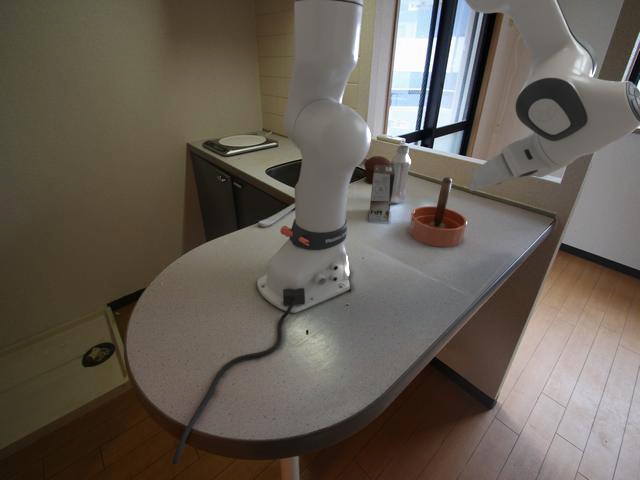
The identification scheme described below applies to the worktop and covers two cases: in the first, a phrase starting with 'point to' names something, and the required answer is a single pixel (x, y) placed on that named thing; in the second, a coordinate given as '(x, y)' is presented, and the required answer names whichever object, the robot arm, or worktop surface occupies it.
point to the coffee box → (381, 192)
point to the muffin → (371, 164)
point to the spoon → (275, 216)
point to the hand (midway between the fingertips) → (484, 184)
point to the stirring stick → (441, 204)
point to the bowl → (437, 236)
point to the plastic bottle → (400, 174)
